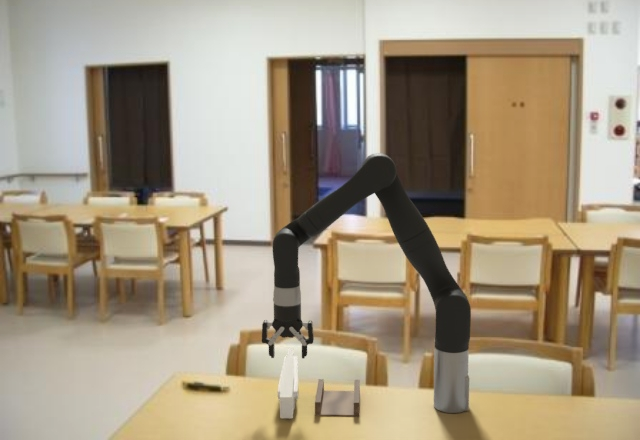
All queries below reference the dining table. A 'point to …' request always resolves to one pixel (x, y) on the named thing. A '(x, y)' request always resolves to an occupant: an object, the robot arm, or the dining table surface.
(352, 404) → the walnut channel
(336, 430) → the dining table surface
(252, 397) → the dining table surface
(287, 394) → the shelf bracket
